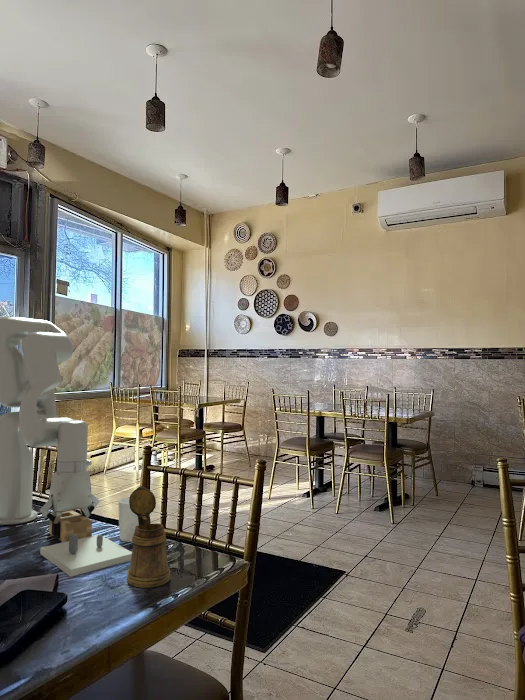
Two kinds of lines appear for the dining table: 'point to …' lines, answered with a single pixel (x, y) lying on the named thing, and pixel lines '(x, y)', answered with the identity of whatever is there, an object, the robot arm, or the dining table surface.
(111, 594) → the dining table surface
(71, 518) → the tan hollow block
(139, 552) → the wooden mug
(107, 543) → the post board
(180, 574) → the dining table surface
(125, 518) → the white cup
